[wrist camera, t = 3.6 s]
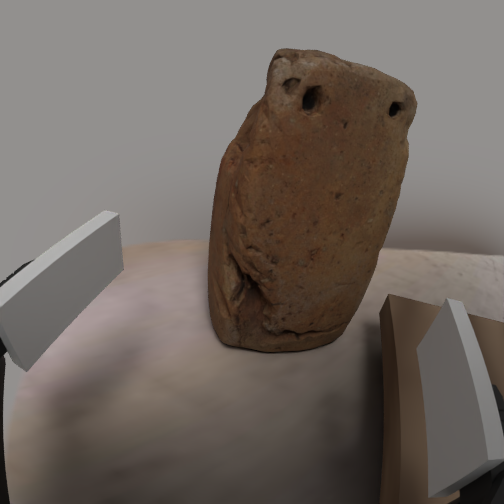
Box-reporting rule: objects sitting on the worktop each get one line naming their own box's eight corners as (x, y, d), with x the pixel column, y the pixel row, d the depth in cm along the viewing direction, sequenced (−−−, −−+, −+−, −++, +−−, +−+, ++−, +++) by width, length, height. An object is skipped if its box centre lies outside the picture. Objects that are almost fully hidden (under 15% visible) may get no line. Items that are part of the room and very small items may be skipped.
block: (316, 292, 30) (372, 75, 19) (349, 350, 24) (442, 89, 13) (201, 297, 27) (226, 43, 16) (213, 367, 21) (254, 30, 10)
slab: (487, 362, 23) (514, 325, 20) (516, 530, 8) (566, 502, 5) (366, 339, 25) (388, 293, 22) (347, 554, 10) (394, 544, 7)
